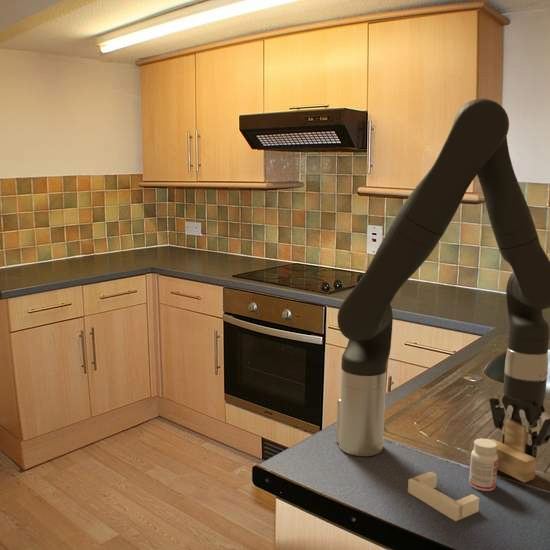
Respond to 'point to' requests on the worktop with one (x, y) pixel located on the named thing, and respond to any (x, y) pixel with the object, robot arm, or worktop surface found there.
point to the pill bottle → (483, 465)
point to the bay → (441, 497)
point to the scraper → (515, 453)
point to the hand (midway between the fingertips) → (518, 456)
